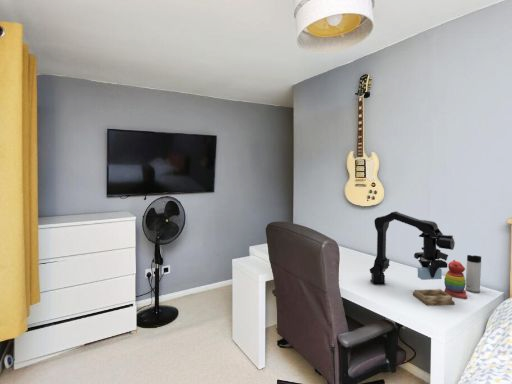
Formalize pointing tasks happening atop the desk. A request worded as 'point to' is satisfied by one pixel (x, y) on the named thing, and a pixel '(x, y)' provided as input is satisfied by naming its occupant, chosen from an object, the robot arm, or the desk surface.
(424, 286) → the desk surface
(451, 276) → the stacking bear
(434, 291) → the jig
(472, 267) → the travel mug
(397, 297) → the desk surface
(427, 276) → the blue slab
